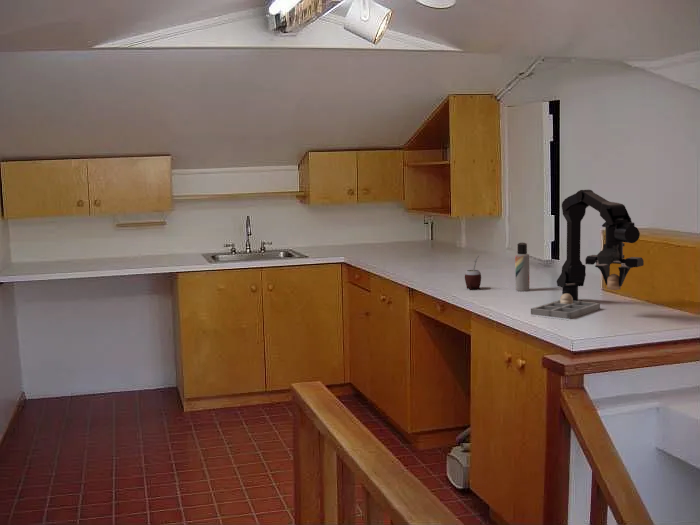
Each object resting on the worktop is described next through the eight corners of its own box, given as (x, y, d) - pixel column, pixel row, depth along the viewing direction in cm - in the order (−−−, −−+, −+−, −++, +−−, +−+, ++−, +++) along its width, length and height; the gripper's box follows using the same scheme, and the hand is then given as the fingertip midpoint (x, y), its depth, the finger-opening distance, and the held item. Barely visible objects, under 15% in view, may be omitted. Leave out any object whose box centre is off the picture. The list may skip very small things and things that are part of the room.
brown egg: (610, 287, 280) (610, 272, 280) (622, 288, 277) (622, 273, 277) (604, 289, 277) (604, 274, 277) (617, 290, 274) (617, 275, 274)
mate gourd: (468, 287, 349) (468, 253, 347) (485, 288, 345) (485, 253, 343) (461, 290, 343) (461, 255, 341) (479, 291, 338) (478, 255, 337)
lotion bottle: (527, 289, 339) (527, 241, 337) (531, 291, 334) (530, 243, 331) (514, 289, 339) (513, 242, 337) (517, 291, 333) (517, 243, 331)
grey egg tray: (562, 306, 298) (562, 299, 297) (600, 310, 287) (600, 303, 287) (530, 315, 282) (530, 308, 281) (569, 320, 271) (569, 313, 271)
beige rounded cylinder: (564, 305, 295) (564, 292, 294) (575, 307, 292) (575, 293, 291) (558, 307, 292) (558, 293, 291) (569, 309, 289) (569, 294, 288)
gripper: (577, 241, 276) (577, 286, 278) (630, 244, 263) (629, 291, 265) (592, 238, 284) (592, 282, 286) (644, 241, 271) (644, 286, 273)
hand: (613, 285), depth 277 cm, fingers closed on brown egg, 4 cm apart
